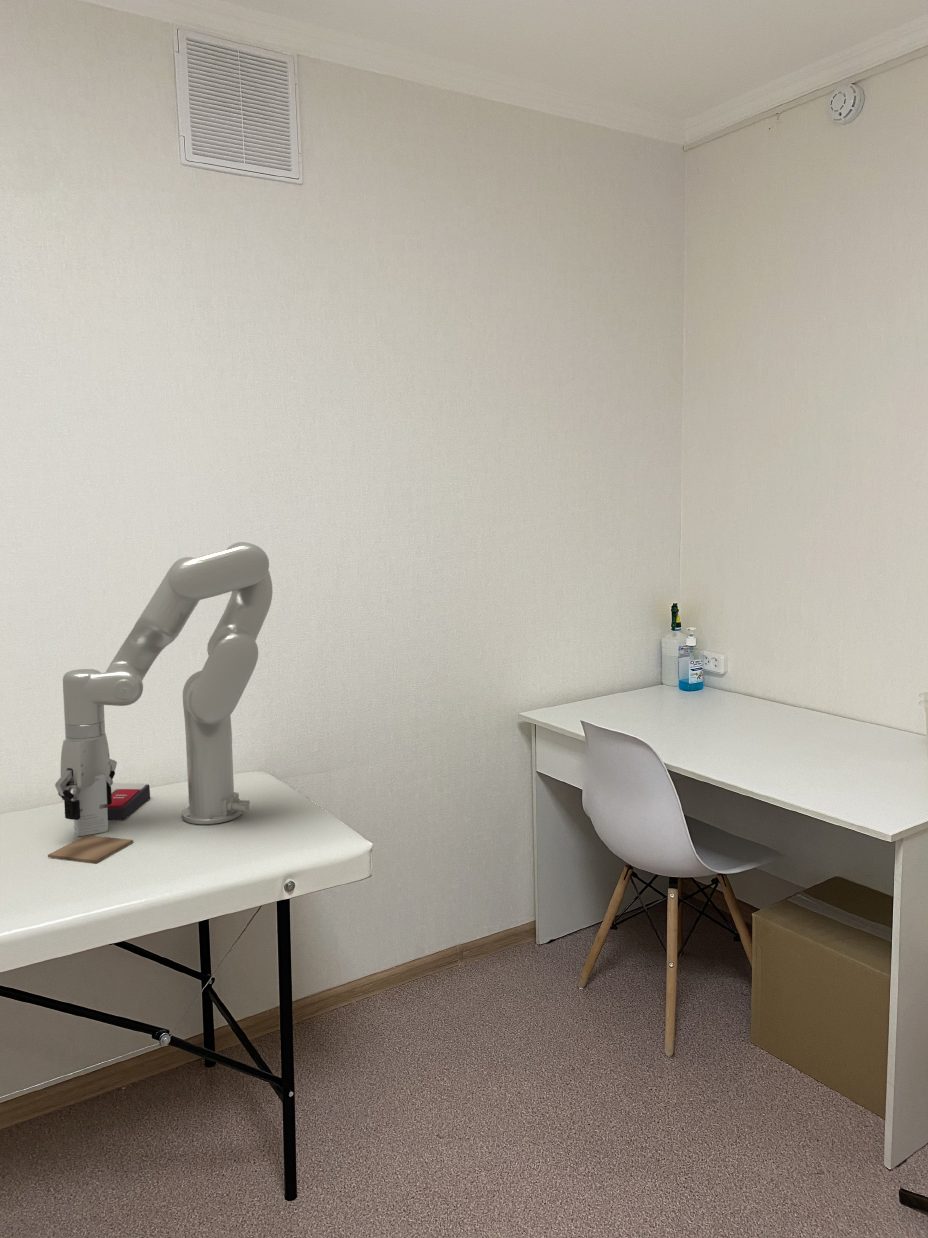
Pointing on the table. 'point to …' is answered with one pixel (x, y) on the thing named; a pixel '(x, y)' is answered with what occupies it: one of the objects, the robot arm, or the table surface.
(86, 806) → the skincare box
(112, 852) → the walnut board
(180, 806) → the table surface
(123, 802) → the black and red case
